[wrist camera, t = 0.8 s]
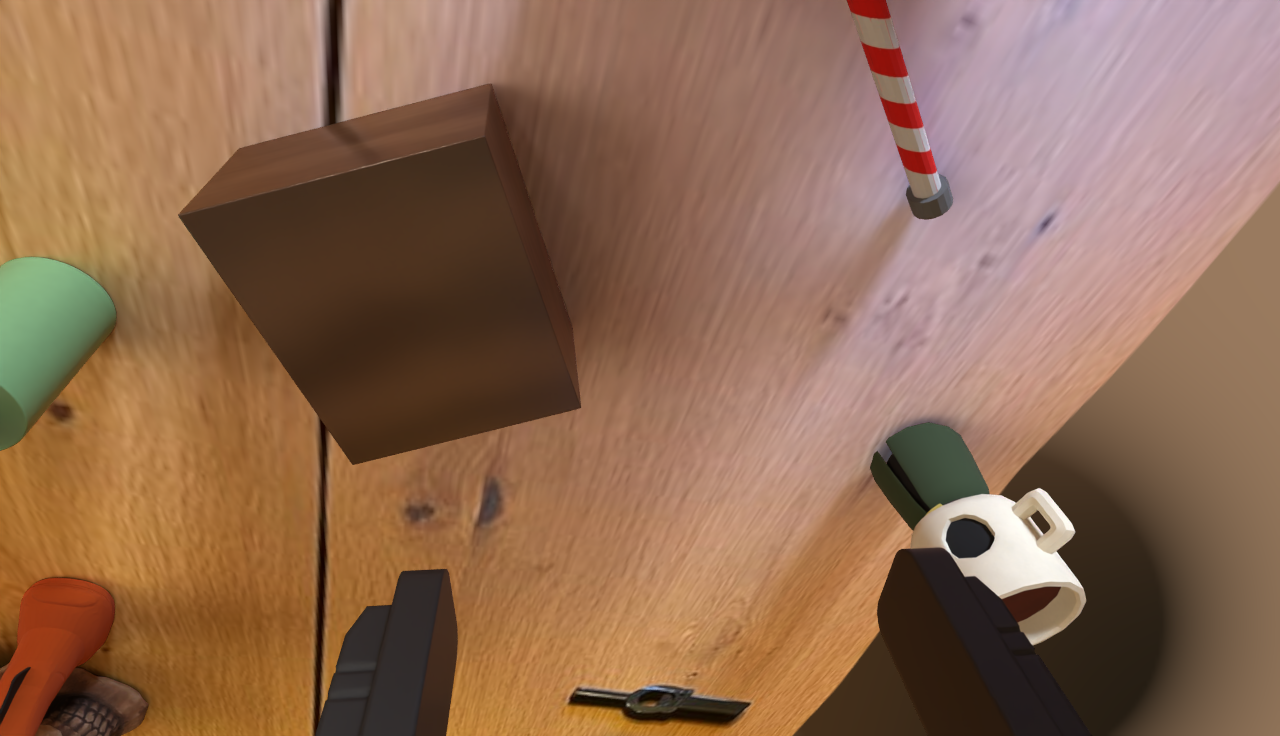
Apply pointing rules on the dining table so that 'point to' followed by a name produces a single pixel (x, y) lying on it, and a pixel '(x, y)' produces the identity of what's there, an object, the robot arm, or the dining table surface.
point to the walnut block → (396, 273)
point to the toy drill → (51, 647)
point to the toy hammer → (901, 108)
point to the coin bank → (92, 707)
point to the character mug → (982, 527)
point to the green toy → (44, 336)
